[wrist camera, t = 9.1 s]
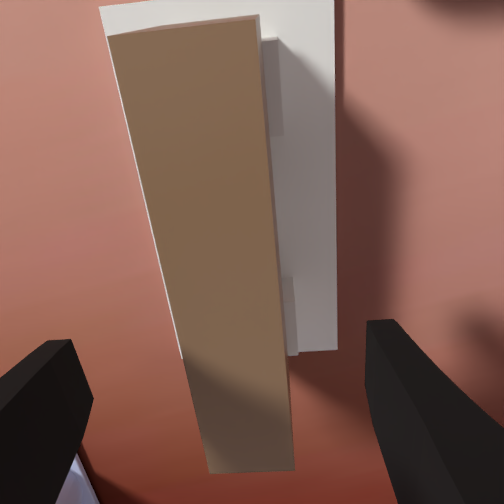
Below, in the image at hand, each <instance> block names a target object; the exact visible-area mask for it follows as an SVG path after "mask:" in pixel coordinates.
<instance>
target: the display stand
mask: <svg viewBox="0 0 504 504" xmlns="http://www.w3.org/2000/svg"><path fill="white" fill-rule="evenodd" d="M99 10H100V14H101V19H102V23H103V27H104V31H105V36H106V40H107V44H108V48H109V53H110V57H111V61H112V65H113V70H114V74H115V78H116V82H117V87H118V91H119V95H120V99H121V104H122V108H123V112H124V116H125V121H126V125H127V129H128V133H129V138H130V142H131V146H132V150H133V155H134V159H135V163H136V167H137V172H138V176H139V180H140V184H141V189H142V193H143V197H144V201H145V206H146V210H147V214H148V218H149V223H150V227H151V231H152V235H153V240H154V244H155V248H156V252H157V257H158V261H159V265H160V269H161V274H162V278H163V282H164V286H165V291H166V295H167V299H168V303H169V308H170V312H171V316H172V320H173V325H174V329H175V333H176V337H177V342H178V346H179V350H180V354H181V359H183V357H182V353H181V349H180V345H179V340H178V336H177V332H176V328H175V323H174V319H173V315H172V311H171V306H170V302H169V298H168V294H167V289H166V285H165V281H164V277H163V272H162V268H161V264H160V260H159V255H158V251H157V247H156V243H155V238H154V234H153V230H152V226H151V221H150V217H149V213H148V209H147V204H146V200H145V196H144V192H143V187H142V183H141V179H140V175H139V170H138V166H137V162H136V158H135V153H134V149H133V145H132V141H131V136H130V132H129V128H128V124H127V119H126V115H125V111H124V107H123V102H122V98H121V94H120V90H119V85H118V81H117V77H116V73H115V68H114V64H113V60H112V56H111V51H110V47H109V43H108V39H107V36H110V35H115V34H121V33H126V32H131V31H136V30H141V29H146V28H151V27H156V26H161V25H169V24H178V23H186V22H195V21H203V20H212V19H221V18H229V17H238V16H247V15H255V14H259V15H260V27H261V39H262V51H263V63H264V75H265V87H266V99H267V111H268V123H269V135H270V147H271V159H272V171H273V183H274V195H275V207H276V219H277V231H278V243H279V255H280V267H281V279H282V291H283V303H284V315H285V327H286V339H287V351H288V356H299V353H298V352H307V351H325V350H338V344H337V243H336V141H335V40H334V0H153V1H144V2H136V3H127V4H119V5H111V6H102V7H99Z"/></svg>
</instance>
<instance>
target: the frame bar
mask: <svg viewBox="0 0 504 504" xmlns="http://www.w3.org/2000/svg"><path fill="white" fill-rule="evenodd" d="M107 39H108V43H109V47H110V51H111V56H112V60H113V64H114V68H115V73H116V77H117V81H118V85H119V90H120V94H121V98H122V102H123V107H124V111H125V115H126V119H127V124H128V128H129V132H130V136H131V141H132V145H133V149H134V153H135V158H136V162H137V166H138V170H139V175H140V179H141V183H142V187H143V192H144V196H145V200H146V204H147V209H148V213H149V217H150V221H151V226H152V230H153V234H154V238H155V243H156V247H157V251H158V255H159V260H160V264H161V268H162V272H163V277H164V281H165V285H166V289H167V294H168V298H169V302H170V306H171V311H172V315H173V319H174V323H175V328H176V332H177V336H178V340H179V345H180V349H181V353H182V357H183V362H184V366H185V370H186V374H187V379H188V383H189V387H190V391H191V396H192V400H193V404H194V408H195V413H196V417H197V421H198V425H199V430H200V434H201V438H202V442H203V447H204V451H205V455H206V459H207V464H208V468H209V472H210V474H218V473H245V472H271V471H295V464H294V447H293V430H292V414H291V397H290V381H289V364H288V351H287V339H286V327H285V315H284V303H283V291H282V279H281V267H280V255H279V243H278V231H277V219H276V207H275V195H274V183H273V171H272V159H271V147H270V135H269V123H268V111H267V99H266V87H265V75H264V63H263V51H262V39H261V27H260V15H259V14H255V15H247V16H238V17H229V18H221V19H212V20H203V21H195V22H186V23H178V24H169V25H161V26H156V27H151V28H146V29H141V30H136V31H131V32H126V33H121V34H115V35H110V36H107Z"/></svg>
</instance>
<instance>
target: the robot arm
mask: <svg viewBox="0 0 504 504" xmlns="http://www.w3.org/2000/svg"><path fill="white" fill-rule="evenodd" d="M365 388H366V393H367V398H368V403H369V408H370V413H371V418H372V423H373V427H374V430H375V433H376V436H377V439H378V443H379V446H380V449H381V452H382V455H383V458H384V461H385V465H386V468H387V471H388V474H389V477H390V480H391V483H392V486H393V489H394V492H395V496H396V499H397V502H398V504H504V428H503V427H502V426H501V425H499V424H498V423H497V422H496V421H495V420H494V419H492V418H491V417H490V416H489V415H488V414H487V413H486V412H485V411H483V410H482V409H481V408H480V407H479V406H478V405H477V404H476V403H474V402H473V401H472V400H471V399H470V398H469V397H468V396H467V395H466V394H465V393H464V392H463V391H462V390H461V389H460V388H458V387H457V386H456V385H455V384H454V383H453V382H452V381H451V380H450V379H449V378H448V377H447V376H446V375H445V374H444V373H443V372H442V371H441V370H440V369H439V368H438V367H437V366H436V365H435V364H434V362H433V361H432V360H431V359H430V358H429V357H428V356H427V355H426V354H425V353H424V352H423V351H422V350H421V349H420V348H419V346H418V345H417V344H416V343H415V342H414V341H413V340H412V339H411V338H410V336H409V335H408V334H407V333H406V332H405V331H404V330H403V328H402V327H401V326H400V325H399V324H398V323H397V322H396V321H395V320H394V319H386V320H369V321H367V330H366V363H365ZM93 400H94V398H93V395H92V393H91V390H90V387H89V385H88V382H87V379H86V377H85V374H84V372H83V369H82V366H81V364H80V361H79V359H78V356H77V353H76V351H75V348H74V345H73V343H72V340H71V339H65V340H49V341H46V342H45V343H43V344H42V345H41V346H39V347H38V348H37V349H35V350H34V351H33V352H32V353H30V354H29V355H28V356H26V357H25V358H24V359H23V360H22V361H20V362H19V363H18V364H17V365H15V366H14V367H13V368H12V369H11V370H9V371H8V372H7V373H6V374H4V375H3V376H2V377H1V378H0V504H100V503H99V501H98V499H97V497H96V495H95V492H94V490H93V488H92V486H91V483H90V481H89V479H88V477H87V474H86V472H85V470H84V468H83V465H82V463H81V461H80V459H79V456H78V454H77V451H78V449H79V446H80V444H81V441H82V439H83V436H84V433H85V429H86V426H87V422H88V419H89V415H90V411H91V407H92V403H93Z"/></svg>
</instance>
